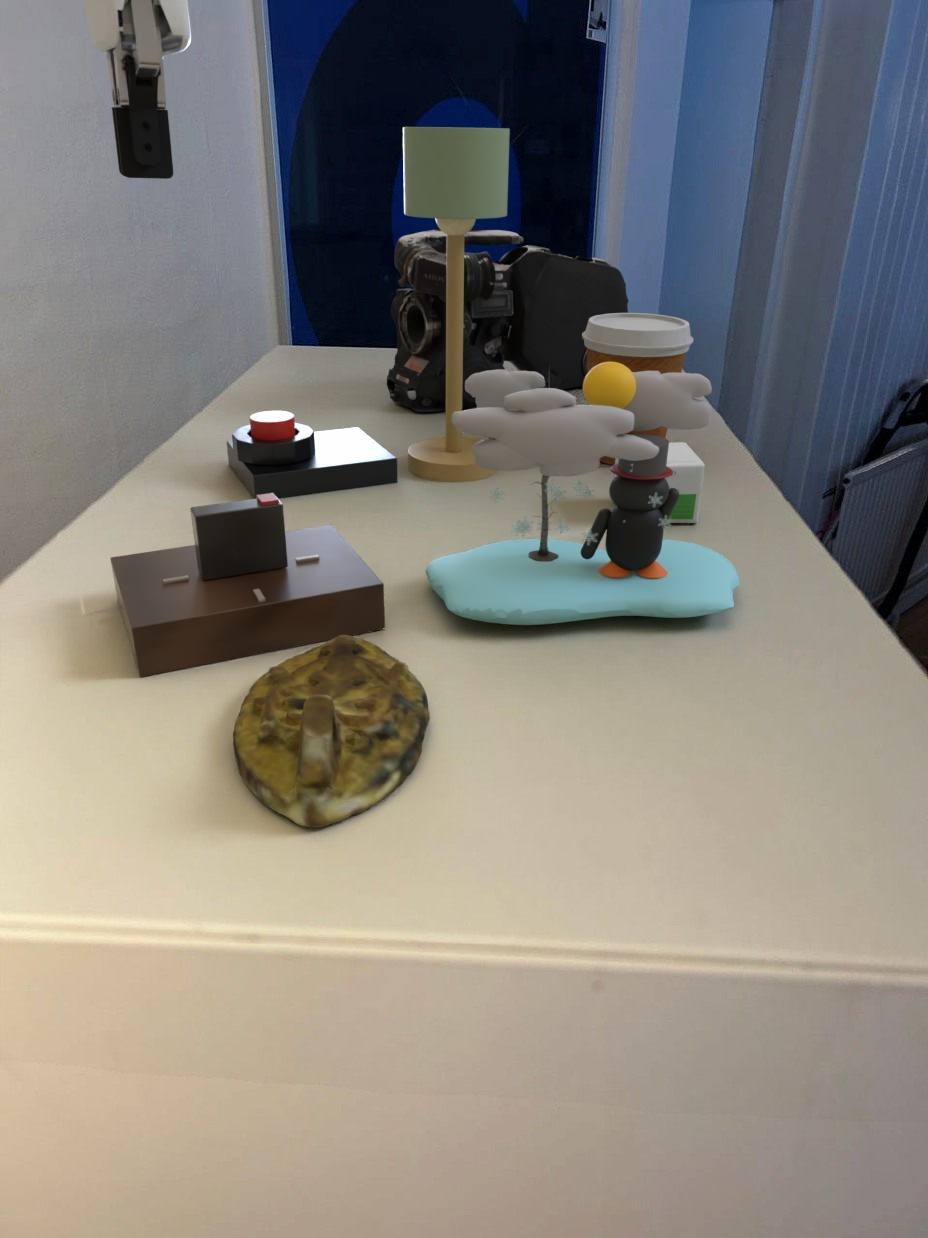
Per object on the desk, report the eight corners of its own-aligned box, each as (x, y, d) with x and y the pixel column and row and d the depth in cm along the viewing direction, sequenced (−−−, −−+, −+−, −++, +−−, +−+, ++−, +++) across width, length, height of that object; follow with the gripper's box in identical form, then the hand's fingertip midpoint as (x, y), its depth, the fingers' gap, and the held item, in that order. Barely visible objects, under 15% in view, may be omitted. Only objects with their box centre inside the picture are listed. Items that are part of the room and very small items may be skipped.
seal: (261, 673, 53) (217, 852, 39) (243, 598, 51) (191, 760, 37) (425, 652, 53) (437, 824, 40) (415, 577, 51) (424, 731, 37)
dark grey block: (203, 581, 54) (194, 512, 52) (198, 570, 55) (189, 502, 53) (288, 567, 56) (283, 500, 54) (281, 557, 57) (275, 491, 55)
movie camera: (424, 428, 90) (426, 231, 83) (349, 396, 104) (345, 225, 97) (670, 404, 105) (689, 234, 98) (575, 378, 119) (586, 229, 112)
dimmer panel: (139, 677, 50) (130, 625, 49) (117, 601, 58) (109, 554, 57) (385, 629, 55) (383, 581, 54) (334, 565, 63) (331, 521, 62)
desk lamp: (429, 487, 78) (427, 126, 65) (394, 460, 84) (387, 126, 72) (514, 475, 81) (528, 128, 68) (475, 449, 87) (481, 128, 75)
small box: (625, 526, 70) (631, 463, 68) (610, 499, 76) (615, 440, 73) (699, 525, 71) (708, 463, 69) (679, 499, 76) (686, 440, 74)
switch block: (252, 502, 74) (247, 453, 72) (225, 465, 82) (221, 420, 80) (397, 483, 78) (396, 436, 77) (359, 450, 87) (357, 407, 85)
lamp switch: (257, 445, 75) (255, 424, 75) (247, 433, 78) (245, 412, 77) (300, 440, 77) (299, 419, 76) (289, 428, 80) (287, 408, 79)
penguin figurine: (713, 562, 65) (747, 337, 58) (765, 635, 55) (813, 377, 48) (424, 565, 64) (422, 336, 57) (427, 640, 54) (425, 377, 47)
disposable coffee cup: (608, 478, 80) (621, 334, 75) (555, 447, 88) (563, 315, 83) (700, 465, 84) (718, 327, 78) (641, 436, 91) (654, 309, 86)
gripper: (204, -202, 49) (230, 185, 57) (155, -141, 61) (182, 173, 69) (49, -230, 46) (101, 183, 54) (29, -160, 58) (74, 170, 66)
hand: (146, 176), depth 62 cm, fingers closed
